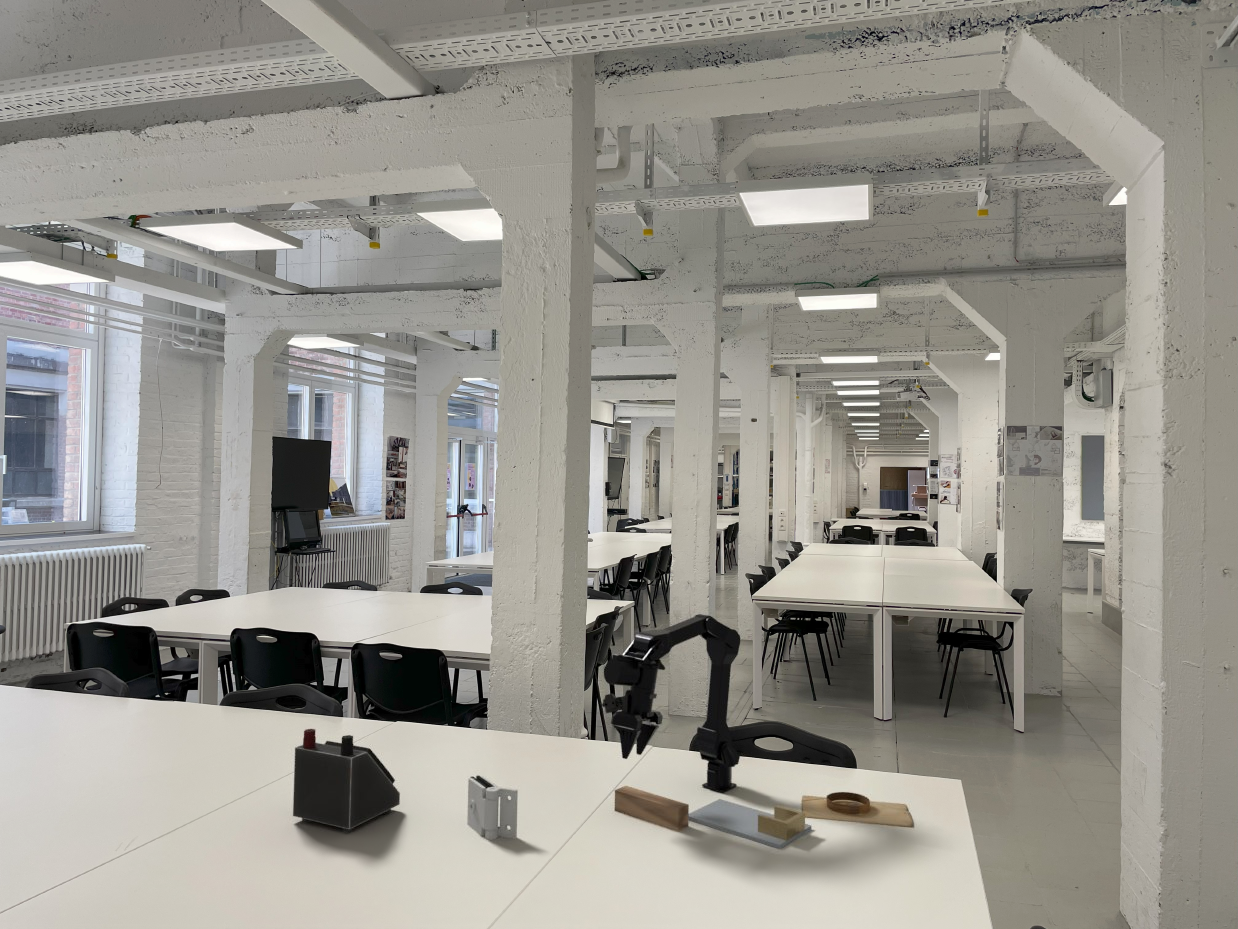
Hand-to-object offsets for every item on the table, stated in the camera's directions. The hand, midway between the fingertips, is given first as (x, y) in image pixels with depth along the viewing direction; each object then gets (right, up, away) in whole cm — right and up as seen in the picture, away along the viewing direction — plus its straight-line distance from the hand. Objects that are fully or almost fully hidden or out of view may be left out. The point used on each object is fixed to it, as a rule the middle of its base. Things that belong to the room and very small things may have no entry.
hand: (631, 756), depth 191 cm
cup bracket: (+32, -12, -11) cm, 36 cm away
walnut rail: (+4, -13, -3) cm, 14 cm away
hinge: (-31, -12, -12) cm, 35 cm away
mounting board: (+26, -13, -6) cm, 29 cm away
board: (+52, -15, +4) cm, 54 cm away
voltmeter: (-64, -12, -4) cm, 65 cm away
